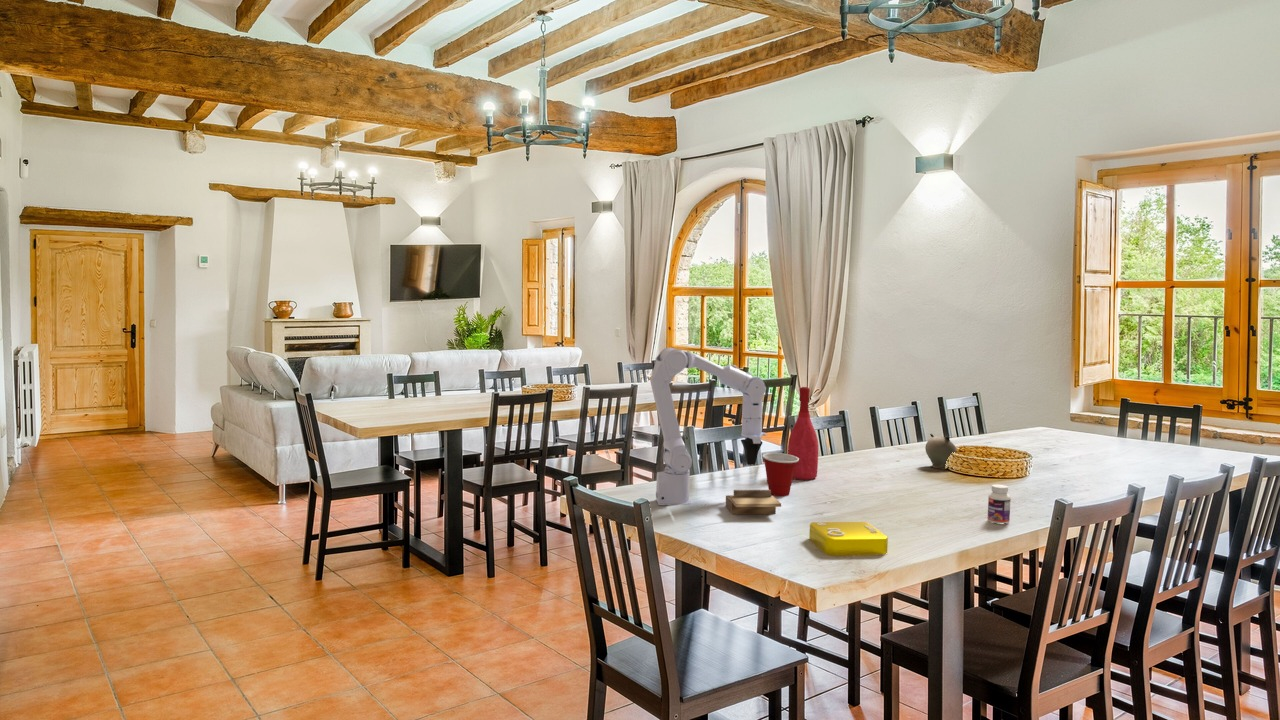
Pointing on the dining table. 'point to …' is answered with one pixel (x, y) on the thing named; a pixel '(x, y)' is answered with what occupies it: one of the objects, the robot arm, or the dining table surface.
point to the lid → (754, 498)
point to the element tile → (847, 538)
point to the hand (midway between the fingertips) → (751, 464)
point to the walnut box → (748, 508)
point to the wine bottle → (804, 441)
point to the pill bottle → (999, 504)
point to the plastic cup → (779, 472)
